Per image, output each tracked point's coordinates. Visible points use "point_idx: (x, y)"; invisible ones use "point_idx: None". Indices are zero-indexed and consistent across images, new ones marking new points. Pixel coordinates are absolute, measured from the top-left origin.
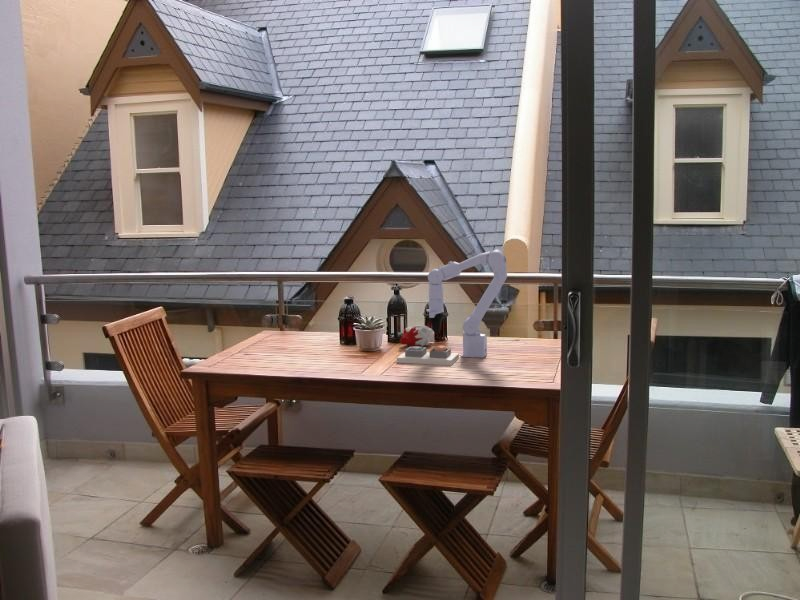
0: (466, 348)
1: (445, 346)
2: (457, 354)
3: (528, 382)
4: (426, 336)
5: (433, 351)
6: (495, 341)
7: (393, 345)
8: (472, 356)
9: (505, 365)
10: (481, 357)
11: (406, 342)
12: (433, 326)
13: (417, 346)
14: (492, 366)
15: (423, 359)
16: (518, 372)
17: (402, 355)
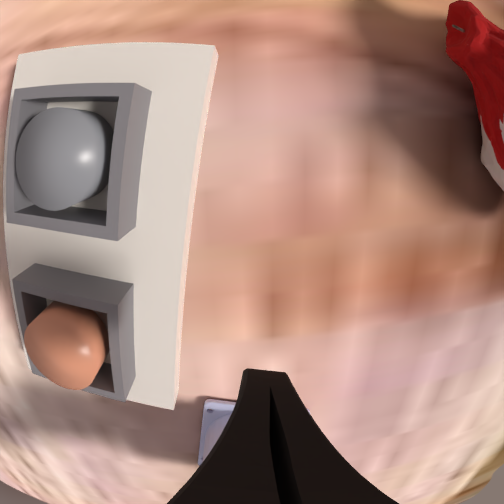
0: (207, 452)
1: (80, 387)
2: (144, 403)
3: (3, 468)
4: None
5: (16, 304)
6: (471, 442)
7: (492, 3)
8: (200, 439)
9: (112, 485)
10: (198, 459)
11: (451, 45)
12: (234, 425)
13: (88, 164)
14: (86, 461)
15: (6, 228)
16: (58, 483)
17: (66, 63)
